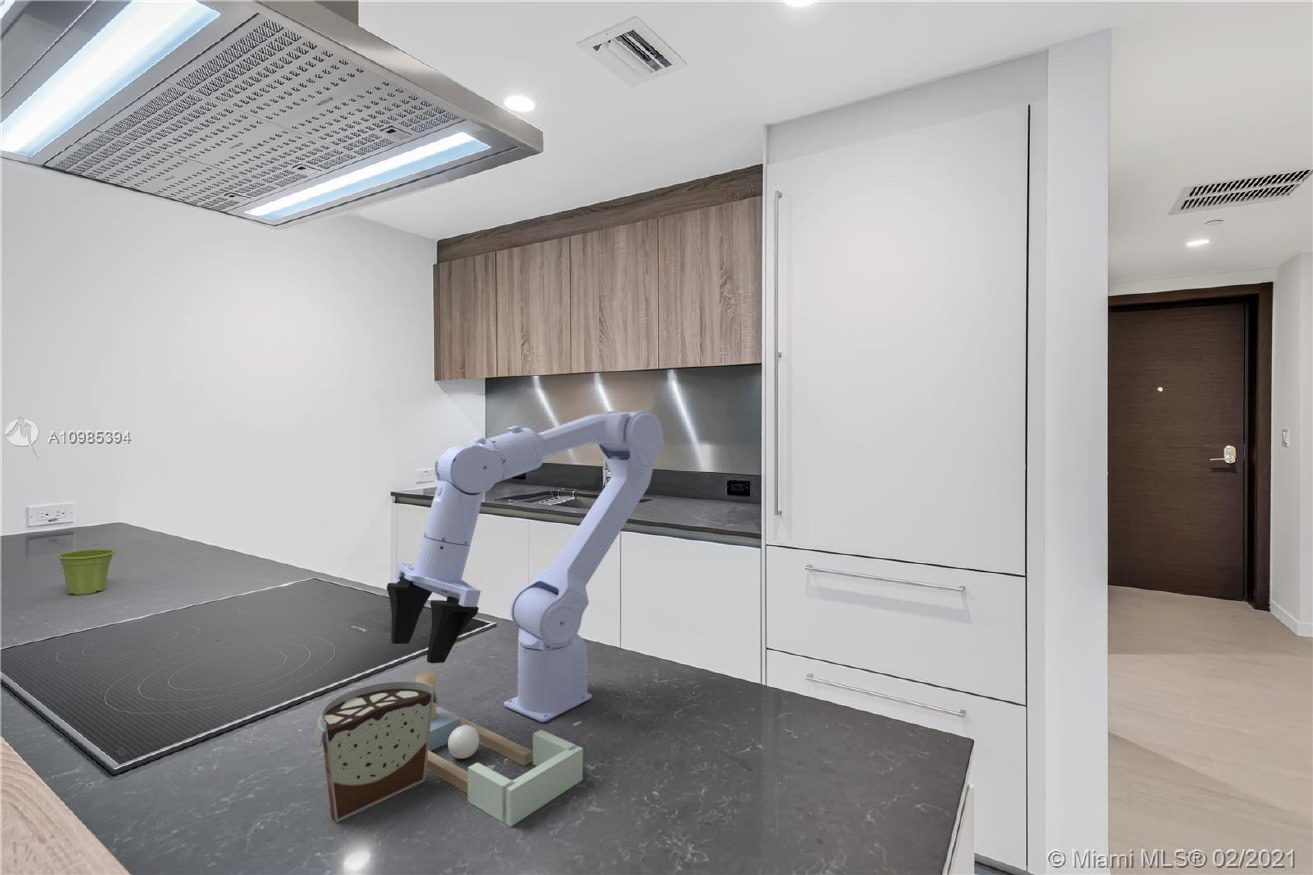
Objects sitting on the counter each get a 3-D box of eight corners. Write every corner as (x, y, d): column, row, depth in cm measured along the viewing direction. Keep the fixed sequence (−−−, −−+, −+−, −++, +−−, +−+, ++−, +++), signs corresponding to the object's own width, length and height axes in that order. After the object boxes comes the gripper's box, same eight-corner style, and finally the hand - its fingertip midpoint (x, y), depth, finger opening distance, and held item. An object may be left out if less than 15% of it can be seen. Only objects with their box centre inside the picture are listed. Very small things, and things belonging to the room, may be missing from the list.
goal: (540, 759, 71) (540, 729, 71) (582, 780, 67) (582, 748, 67) (467, 801, 63) (467, 767, 63) (510, 827, 59) (510, 790, 59)
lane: (438, 715, 82) (439, 706, 82) (532, 761, 71) (532, 751, 71) (378, 741, 75) (378, 731, 75) (471, 795, 64) (471, 784, 64)
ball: (466, 745, 74) (467, 716, 74) (485, 755, 72) (485, 725, 72) (441, 758, 71) (441, 728, 71) (459, 768, 69) (460, 737, 69)
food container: (408, 755, 72) (409, 670, 72) (437, 775, 68) (438, 684, 68) (293, 804, 62) (293, 706, 62) (319, 830, 58) (319, 725, 58)
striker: (436, 725, 79) (437, 667, 79) (460, 737, 76) (461, 676, 76) (400, 741, 75) (400, 679, 75) (424, 754, 72) (424, 690, 72)
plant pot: (116, 584, 145) (116, 547, 144) (113, 593, 137) (113, 554, 137) (60, 590, 139) (60, 551, 139) (54, 600, 131) (54, 559, 131)
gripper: (386, 526, 78) (355, 635, 76) (456, 549, 69) (423, 673, 67) (433, 532, 83) (406, 635, 81) (504, 554, 74) (474, 669, 73)
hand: (417, 652), depth 74 cm, fingers open, 7 cm apart
